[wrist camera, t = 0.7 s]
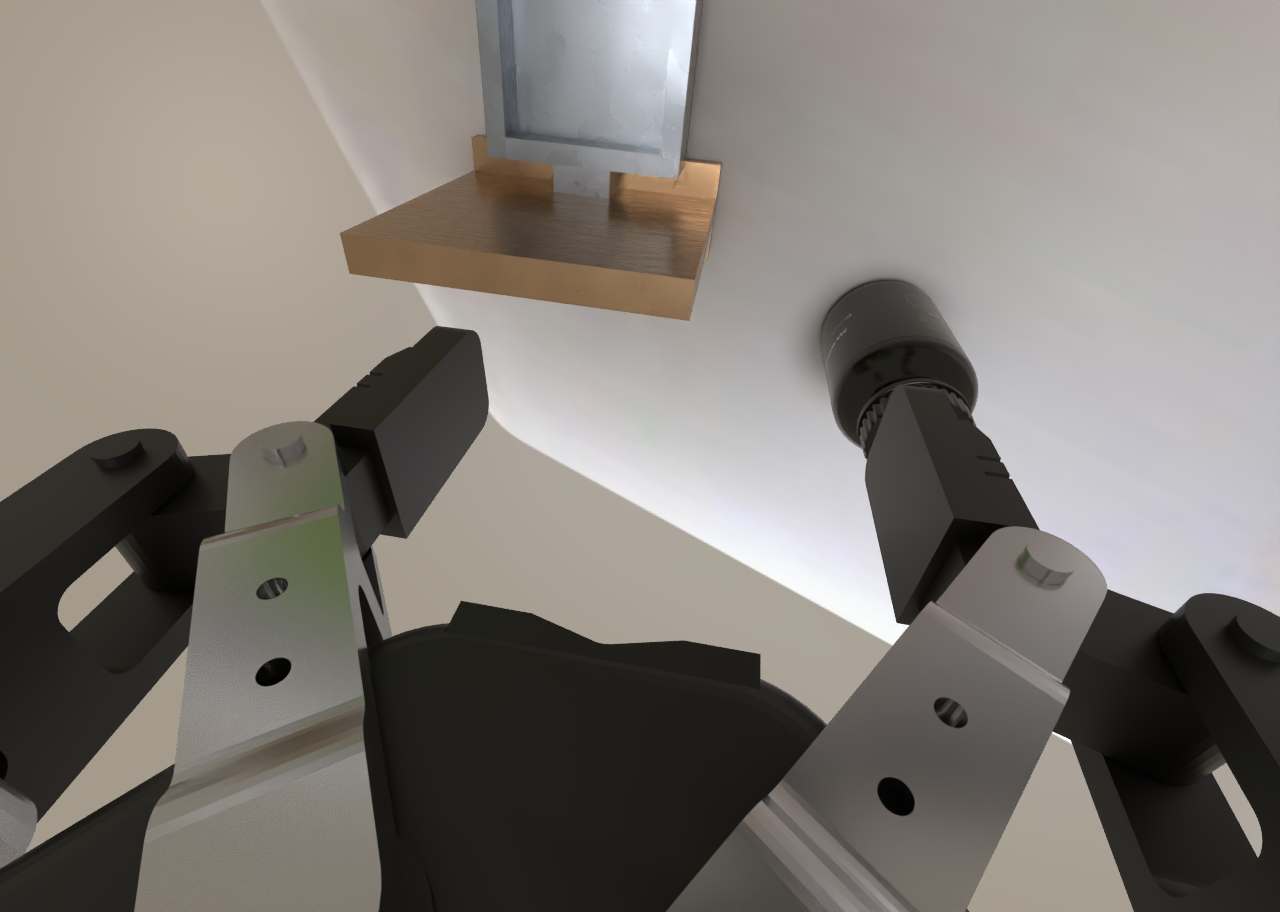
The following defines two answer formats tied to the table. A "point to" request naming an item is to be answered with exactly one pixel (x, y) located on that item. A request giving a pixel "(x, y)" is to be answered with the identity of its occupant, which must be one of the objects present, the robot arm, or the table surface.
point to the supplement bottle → (890, 356)
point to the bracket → (568, 166)
